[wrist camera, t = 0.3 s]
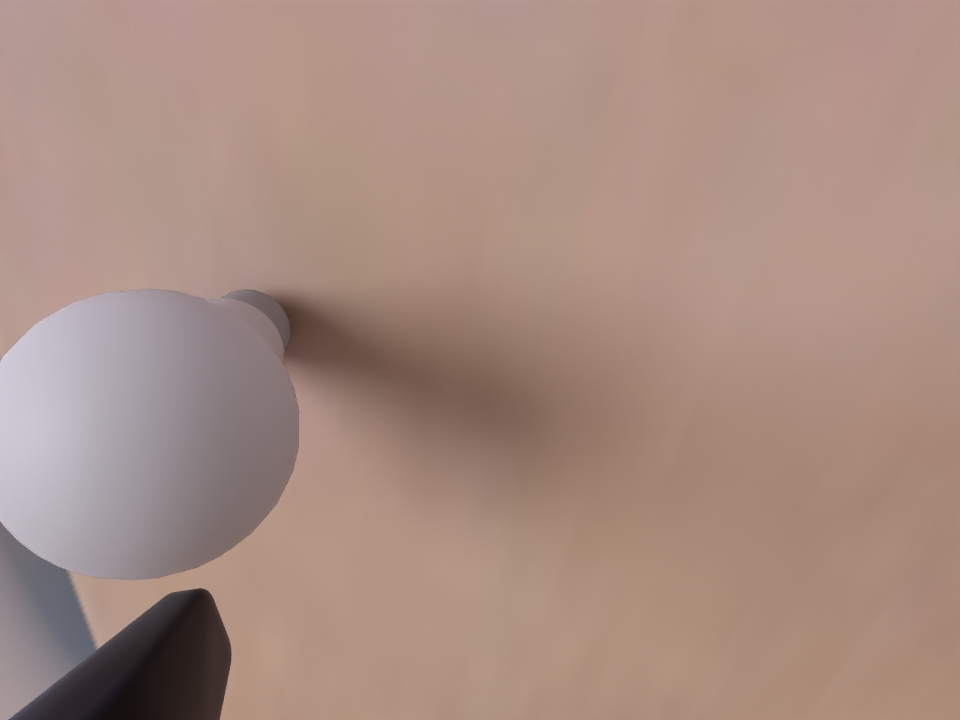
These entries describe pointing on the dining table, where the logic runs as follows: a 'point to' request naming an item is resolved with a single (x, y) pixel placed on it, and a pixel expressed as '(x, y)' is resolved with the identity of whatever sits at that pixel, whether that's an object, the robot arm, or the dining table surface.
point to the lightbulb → (146, 430)
